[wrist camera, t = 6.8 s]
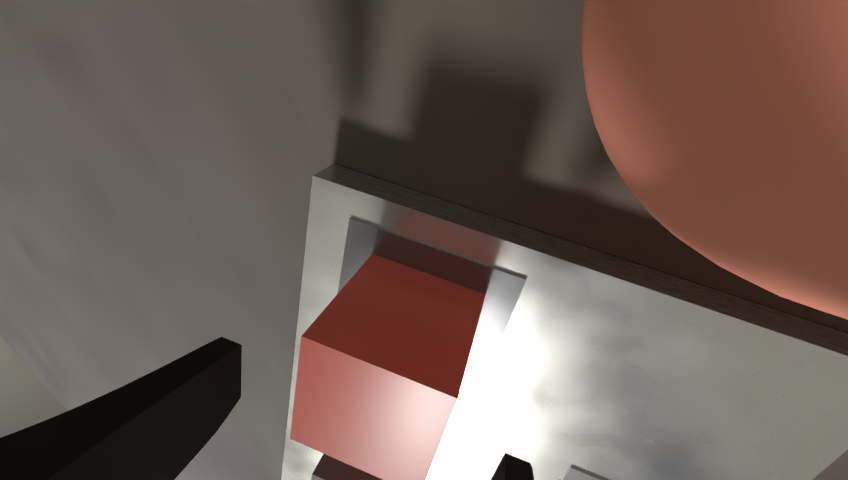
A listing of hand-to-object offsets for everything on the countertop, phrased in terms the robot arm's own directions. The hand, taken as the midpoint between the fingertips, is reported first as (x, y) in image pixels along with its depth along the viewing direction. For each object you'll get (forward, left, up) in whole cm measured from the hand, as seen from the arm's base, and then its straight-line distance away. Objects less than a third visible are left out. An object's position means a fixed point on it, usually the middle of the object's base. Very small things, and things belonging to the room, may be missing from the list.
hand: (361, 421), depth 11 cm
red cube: (0, 0, -5) cm, 5 cm away
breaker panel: (-5, +8, -6) cm, 11 cm away
